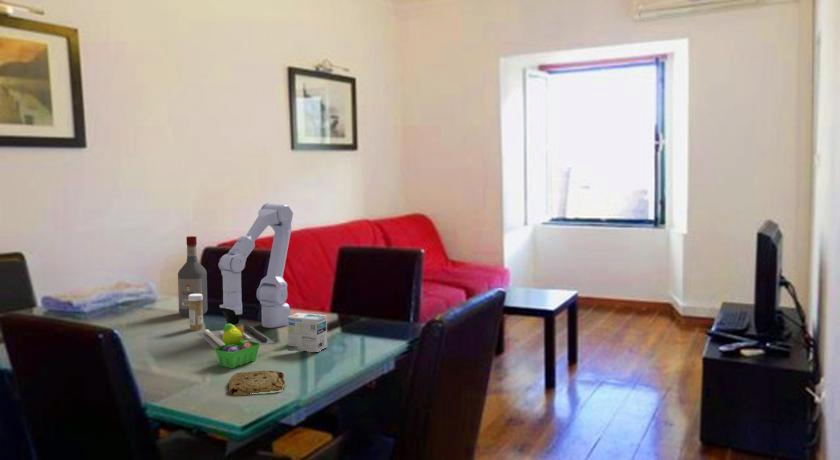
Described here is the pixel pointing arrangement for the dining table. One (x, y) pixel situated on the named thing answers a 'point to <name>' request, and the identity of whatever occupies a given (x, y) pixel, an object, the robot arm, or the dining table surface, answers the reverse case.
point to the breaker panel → (246, 336)
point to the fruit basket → (235, 348)
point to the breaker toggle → (239, 328)
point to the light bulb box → (307, 332)
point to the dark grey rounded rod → (255, 333)
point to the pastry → (256, 382)
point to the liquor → (191, 279)
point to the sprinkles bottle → (195, 312)
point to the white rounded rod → (214, 337)
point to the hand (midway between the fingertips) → (233, 331)
